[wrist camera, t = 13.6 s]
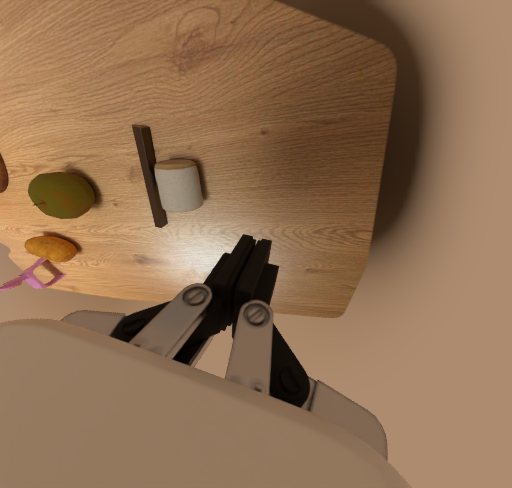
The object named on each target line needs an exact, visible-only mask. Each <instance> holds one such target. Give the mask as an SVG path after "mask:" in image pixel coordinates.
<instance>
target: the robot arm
mask: <svg viewBox="0 0 512 488" xmlns="http://www.w3.org/2000/svg"><path fill="white" fill-rule="evenodd" d="M255 244H256V240H255V239H253V236H249V235H245V234H243V235H242V237H241V239H240V240H239V242H238V243H237V245H236V246H235V248H234V250H233V251H232V253H231V254H230V253H224V254H223V255H222V257H221V258H220V260H219V261H218V263H217V264H216V266H215V267H214V269H213V270H212V271H211V273H210V274H209V276H208V277H207V279H206V280H205V282H204V283H203V284H201V283H196V284H191V285H189V286H187V287H186V288H184V289H183V290H182V291H181V292H180V293H179V294H178V295H177V296H176V297H175V298H174V299H173V300H172V301H169V302H166V303H163V304H160V305H157V306H154V307H151V308H148V309H145V310H142V311H139V312H136V313H133V314H131V315H129V316H126V315H125V314H124V313H112V312H100V311H87V310H82V311H76V312H73V313H71V314H69V315H67V316H65V317H64V318H63V319H62V320H60V321H58V320H51V319H23V320H14V321H8V322H4V323H0V488H411V487H410V485H409V484H408V483H407V482H406V480H405V479H404V478H403V477H402V476H401V475H400V474H399V473H398V471H397V470H396V469H395V468H394V467H393V466H392V465H391V464H390V463H389V462H388V461H387V439H386V434H385V432H384V430H383V427H382V425H381V424H380V423H379V421H378V419H377V418H376V417H375V416H374V415H373V414H371V413H370V412H369V411H368V410H366V409H365V408H363V407H362V406H360V405H358V404H357V403H355V402H354V401H352V400H350V399H349V398H347V397H345V396H344V395H342V394H341V393H339V392H337V391H336V390H334V389H332V388H331V387H329V386H327V385H326V384H324V383H323V382H321V381H319V380H317V381H315V380H314V379H312V378H310V377H309V376H307V374H306V372H305V370H304V369H303V367H302V366H301V364H300V363H299V361H298V359H297V358H296V356H295V355H294V353H293V352H292V351H291V349H290V348H289V346H288V344H287V343H286V342H285V340H284V339H283V337H282V336H281V334H280V333H279V331H278V330H277V328H276V326H275V325H274V323H273V311H272V309H271V307H270V306H269V305H270V302H271V298H272V294H273V290H274V286H275V282H276V278H277V274H278V269H279V266H277V265H273V264H269V263H268V261H269V255H270V249H271V244H272V241H271V240H266V239H262V240H261V241H260V240H258V242H257V244H256V246H255ZM231 324H232V338H233V344H232V349H231V353H230V358H229V363H228V367H227V372H226V376H225V379H223V378H221V377H218V376H215V375H213V374H210V373H207V372H205V371H202V370H199V369H196V368H194V367H195V365H196V364H197V362H198V360H199V359H200V358H201V356H202V355H203V353H204V352H205V350H206V349H207V347H208V345H209V344H210V343H211V341H212V339H213V337H214V335H215V334H217V333H220V331H221V330H223V331H225V329H226V327H227V325H228V326H231Z"/></svg>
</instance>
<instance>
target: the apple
mask: <svg viewBox="0 0 512 488" xmlns="http://www.w3.org/2000/svg"><path fill="white" fill-rule="evenodd" d="M28 193H29V196H30V198H31V200H32V202H33V203H34V205H36V206H37V207H38V208H39V209H40V210H41V211H42V212H44V213H45V214H46V215H49V216H52V217H56V218H60V219H72V218H78V217H80V216H81V215H83V214H85V213H86V212H87V211H88V210H89V209H90V208H91V207H92V205H93V204H94V202H95V195H94V191H93V189H92V188H91V186H90V185H89V184H88V183H87V182H86V181H85V180H84V179H83V178H81V177H80V176H78V175H75V174H71V173H64V172H54V173H46V174H39V175H38V176H37V177H35V178H34V179H33V180H32V181H31V182H30V184H29V189H28Z"/></svg>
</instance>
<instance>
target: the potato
mask: <svg viewBox="0 0 512 488" xmlns="http://www.w3.org/2000/svg"><path fill="white" fill-rule="evenodd" d="M25 248H26V249H27V251H28V252H29V253H31V254H33V255H36V256H38V257H41V258H44V259H48V260H51V261H55V262H66V261H69V260H71V259H72V258H73V257H74V256H75V255H76V253H77V249H76V247H75V246H74V245H73V244H72V243H71V242H69V241H67V240H64V239H61V238H57V237H53V236H40V237H33V238H31V239H28V240H27V241H26V242H25Z"/></svg>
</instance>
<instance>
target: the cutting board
mask: <svg viewBox="0 0 512 488" xmlns="http://www.w3.org/2000/svg"><path fill="white" fill-rule="evenodd" d="M7 185H8V175H7V170H6V167H5V164H4V161H3V159H2V157H1V154H0V193H1V192H3V191H4V190H6V188H7Z"/></svg>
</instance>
